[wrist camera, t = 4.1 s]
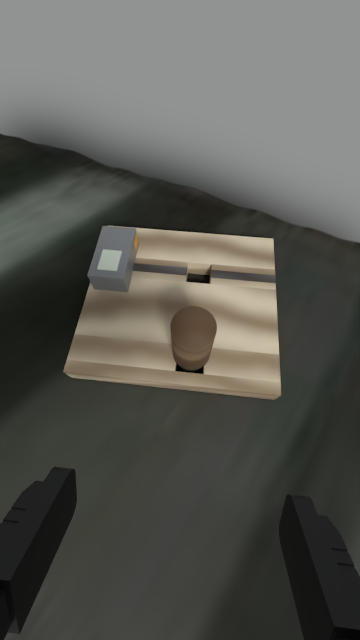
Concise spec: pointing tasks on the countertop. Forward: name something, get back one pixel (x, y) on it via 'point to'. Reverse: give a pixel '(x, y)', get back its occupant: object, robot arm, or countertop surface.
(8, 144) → the countertop surface
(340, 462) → the countertop surface
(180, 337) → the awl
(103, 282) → the block
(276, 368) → the board
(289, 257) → the countertop surface
